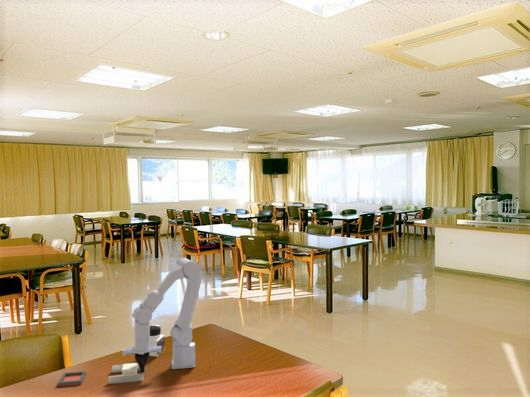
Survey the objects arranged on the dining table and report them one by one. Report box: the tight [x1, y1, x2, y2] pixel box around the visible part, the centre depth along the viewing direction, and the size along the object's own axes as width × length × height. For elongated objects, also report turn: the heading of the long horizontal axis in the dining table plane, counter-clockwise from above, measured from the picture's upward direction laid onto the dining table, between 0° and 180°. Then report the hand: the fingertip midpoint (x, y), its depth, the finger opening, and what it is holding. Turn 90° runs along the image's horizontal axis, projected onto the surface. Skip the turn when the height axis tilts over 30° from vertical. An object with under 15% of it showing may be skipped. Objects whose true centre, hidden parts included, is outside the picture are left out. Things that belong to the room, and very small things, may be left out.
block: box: [121, 362, 138, 375], centre depth 161 cm, size 5×5×4 cm
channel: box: [108, 362, 144, 385], centre depth 161 cm, size 12×10×2 cm
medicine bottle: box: [149, 324, 166, 358], centre depth 182 cm, size 7×7×12 cm
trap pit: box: [57, 370, 87, 387], centre depth 157 cm, size 8×8×1 cm
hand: (142, 371), depth 162 cm, fingers closed
